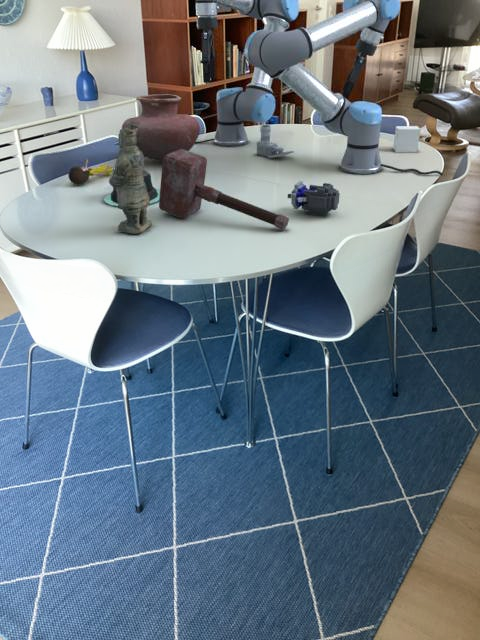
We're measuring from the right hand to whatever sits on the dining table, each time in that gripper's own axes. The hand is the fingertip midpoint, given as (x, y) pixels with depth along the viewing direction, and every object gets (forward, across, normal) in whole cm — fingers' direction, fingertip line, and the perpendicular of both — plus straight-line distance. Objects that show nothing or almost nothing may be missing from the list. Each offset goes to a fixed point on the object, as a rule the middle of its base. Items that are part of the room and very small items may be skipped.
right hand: (343, 96), depth 220 cm
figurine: (+49, -48, +74) cm, 101 cm away
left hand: (+10, -16, +50) cm, 54 cm away
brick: (+12, +8, -34) cm, 37 cm away
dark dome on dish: (+40, -68, +55) cm, 96 cm away
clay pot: (+45, -21, +58) cm, 77 cm away
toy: (+17, -75, -1) cm, 77 cm away
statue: (+34, -96, +46) cm, 111 cm away
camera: (+30, -9, +17) cm, 36 cm away
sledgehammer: (+25, -85, +22) cm, 92 cm away
